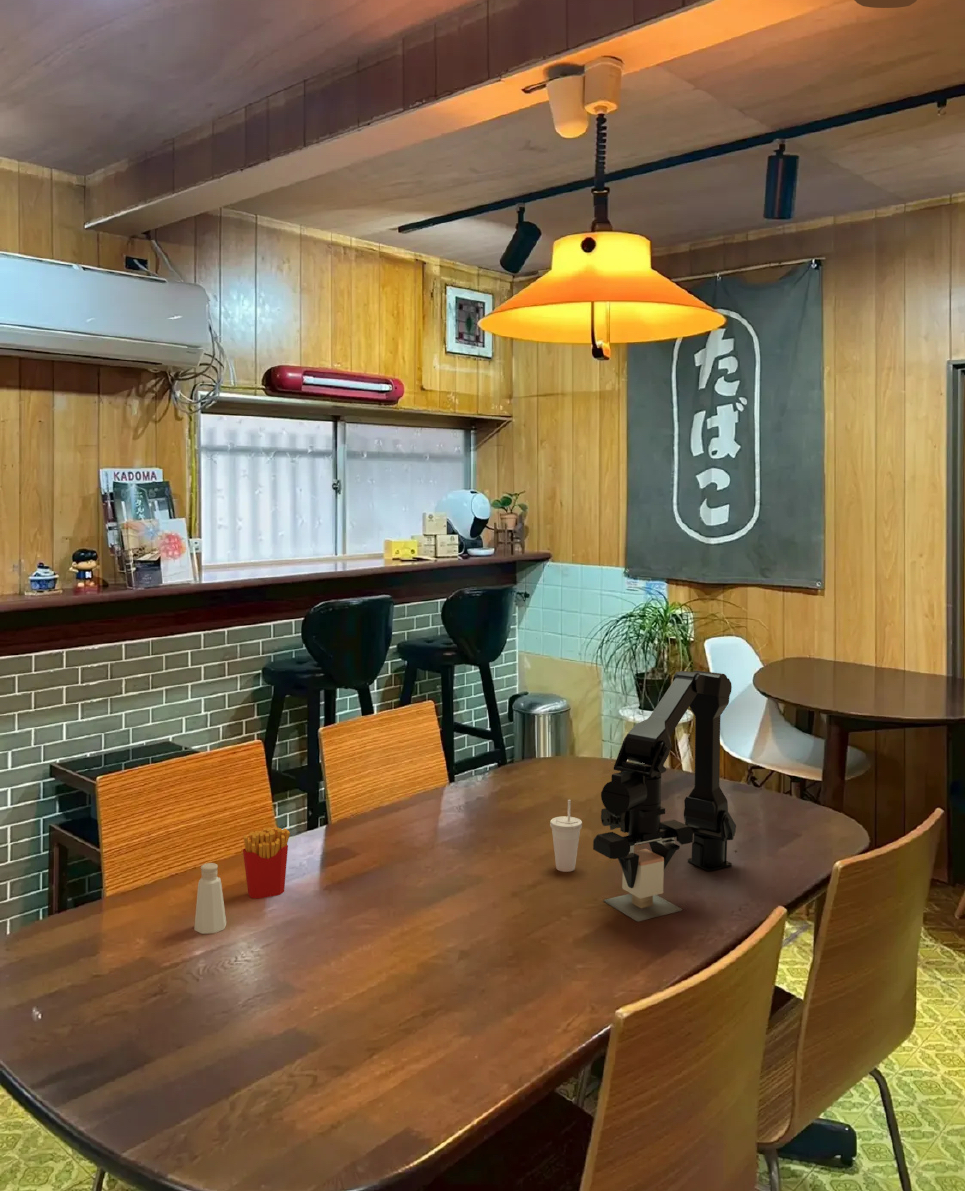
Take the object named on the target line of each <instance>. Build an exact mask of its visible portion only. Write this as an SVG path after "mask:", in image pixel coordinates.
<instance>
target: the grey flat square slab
mask: <svg viewBox="0 0 965 1191" xmlns="http://www.w3.org/2000/svg"><path fill="white" fill-rule="evenodd" d="M603 902H604V903H606V904H607V905H608V906H610V907H612V908H614V909H615V910H617V911H619V912H621V913H622V914H624V915H626V916H627V917H629V918H630V919H632V920H634V921H635V922H637V923H638V922H642V921H645V920H650V919H653V918H657V917H662V916H666V915H669V914H674V913H677V912H681V911H683V909H682V907H679V906H678V905H675V904H674V903H672V902H670V901H668V900H666V899H665V898H663V897H661V896H659V894H658V895H653V896H649V897H645V898H641V899H640V898H638V897H636V896H635V895H633V894H631V893H626V894H623V895H618V896H614V897H610V898H606V899H603Z"/></svg>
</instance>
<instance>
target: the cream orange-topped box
mask: <svg viewBox="0 0 965 1191" xmlns="http://www.w3.org/2000/svg"><path fill="white" fill-rule="evenodd" d="M634 853H635V854H637V855H639V861H638V867H637V873H636V879H635V883H634V887H633V888H630V887H628V885H627V882H626V879H625V876H624V873H623V872H622V883H621V884H622V885H621V887H622V890H624V891H626V892H627V893H628V894H633V895H635V896H636V897H638V898H640V899H641V898H645V897H649V896H653V895H658V896H659V895H661V894H664V874H665V869H664V857H662V856H660V855H658V854H655V853H653V852H652V850H649V849H647V848H644V849H639V850H638V849H637V850H634Z"/></svg>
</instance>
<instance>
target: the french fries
mask: <svg viewBox="0 0 965 1191" xmlns="http://www.w3.org/2000/svg"><path fill="white" fill-rule="evenodd" d="M290 835H291V833H290V831H289V830H287V828H283V829H282V828H279V826H277V827H274V828H272V827H271V826H270V827H269V826H268V827H263V828H262V830H255V831H249V832H248V835H247V834H246V835H243V842H244V843H243V844H244V848H242V853H243V855H242V856H243V861H244V862H243V863H244V870H245V877H246V886H247V894H249V895H248V896H249V897H250V899H265V898H271V897H276V896H279V895H282V894H283V893H285V885H286V875H287V863H288V862H287V861H288V859H287V858H288V851H289V845H288V843H289V838H290ZM264 897H265V898H264Z"/></svg>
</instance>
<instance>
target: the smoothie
mask: <svg viewBox="0 0 965 1191" xmlns="http://www.w3.org/2000/svg"><path fill="white" fill-rule="evenodd" d="M571 804H572V802H571V799H567V816H565V815H564V816H556V817H553V818H552V819H551V820H550V821H549V822H550V824H549V826H550V828H551V832H552V833H551V834H552V841H553V842H552V843H553V850H554V852H553V853H554V859H555V868H556V870H558V871H560V872H564V873H565V872H566V873H567V872H568V873H569V872H573V871H575V870H576V863H577V854H578V850H579V842H580V841H579V840H580V834H581V829H582V828H583V821H582V820H581V819H580V818H577V817H573V816H571V806H572V805H571Z"/></svg>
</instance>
